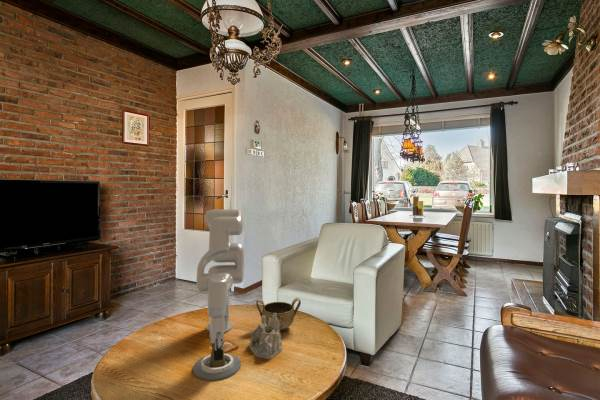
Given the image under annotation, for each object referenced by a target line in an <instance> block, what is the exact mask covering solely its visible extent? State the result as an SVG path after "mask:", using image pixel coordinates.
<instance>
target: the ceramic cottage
mask: <svg viewBox="0 0 600 400" xmlns="http://www.w3.org/2000/svg"><path fill="white" fill-rule="evenodd" d="M260 320H261V321H260V323H259V324H258V326H256V328H255V329H253V331H252V332H251V333H250V335H251V338H250V342H249V346H248V347H249V349H250V350H251V352H252V353H253V355H254V356H255V357H256V358H260V359H267V360H270V359H273V358H274V357H276V356H278V355H279V354H281V353H282V352H283V340H282V335H281V332H280V323H279V320H277V316H276V313H275V314H274V315H273V316H272V318H269V321H268V326H267V325H266V318H265V316H262V317H261V319H260Z"/></svg>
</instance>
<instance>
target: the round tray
mask: <svg viewBox="0 0 600 400" xmlns="http://www.w3.org/2000/svg"><path fill="white" fill-rule="evenodd" d="M224 357H225V365H224V366H223V367H218V368H211V367H210V358H211V354H209V355H205V356H203V357H201V358H199V359H198V360H197V361H196V362H195V363H194V365H193V367H192V372H193V375H194V376H195V377H197V378H198V379H201V380H203V381H219V380H224V379H227V378H230V377H232V376H234V375H236V374H237V373H238V372H239V371H240V370H241V365H242V363H241V362H242V361H241V359H240V358H239V357H238V356H237V355H236V354H235V355H234V354H231V353H225V352H224Z"/></svg>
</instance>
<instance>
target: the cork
mask: <svg viewBox="0 0 600 400" xmlns="http://www.w3.org/2000/svg"><path fill="white" fill-rule="evenodd" d="M216 341H217V340H216ZM224 344H225V340H224V341H223V342H222V347H223V359H222V360H217V361H214V350H215V343H213V344H212V343H211V342H210V345H211V352H210V355H211V358H210V367H211V368H218V367H223V366H224V365H225V357H224V353H225V350H224ZM216 346H217V344H216Z"/></svg>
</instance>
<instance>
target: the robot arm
mask: <svg viewBox="0 0 600 400" xmlns="http://www.w3.org/2000/svg"><path fill="white" fill-rule="evenodd" d="M204 215H205V216H204V217H205V221H206V225H207V227H208V230H209V238H208V239H209V240H208V241H209V242H208V244H209V245H208V250H207V251H206V253H204V255H203V256H202V257H201V259H200V261H199V262H198V265H197V269H196V289H197V291H198V292H200V293H207V316H208V317H209V323H208V324H207V325H206V331H207V332H209V340H210V344H211V343H212V344H213V343H215V350H214V361H217V360H222V359H223V349H224V346H223V347H222V342H223V341H224V342H225V333H227V332H229V331H230V330H232V328H233V323H232V322H230V289H231V288H232V287H233V285H238V284H241V283H243V281H244V280H245V279H244V278H245V252H244V251H245V250H244V246H243V245H242V244H241V243H238V242H230V236H240V235H241V234H243V233H242V232H243V230H244V229H243V228H244V220H243V219H244V218H243V213H242V211H241V210H240V209H221V208H220V209H218V208H217V209H209V210H207V211H206V212H205V214H204ZM212 261H213V262H214V263H221V264H217V265H216V264H215V265H213V266H211V267H209V268H208V272H207V273H205V268H206V266H207V265H208V264H209V263H210V262H212ZM223 263H234V264H223ZM216 340H217V341H216ZM216 344H217V346H216Z"/></svg>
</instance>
